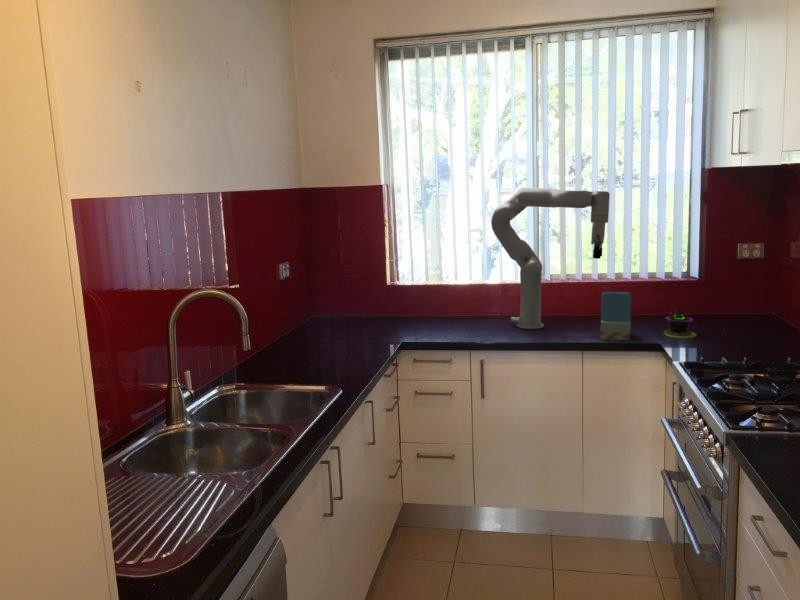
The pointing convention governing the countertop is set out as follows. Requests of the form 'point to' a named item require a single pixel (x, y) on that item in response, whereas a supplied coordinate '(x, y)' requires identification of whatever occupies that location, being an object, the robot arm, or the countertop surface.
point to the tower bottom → (615, 335)
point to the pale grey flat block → (615, 326)
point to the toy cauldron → (679, 327)
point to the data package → (616, 306)
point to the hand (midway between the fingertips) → (597, 257)
